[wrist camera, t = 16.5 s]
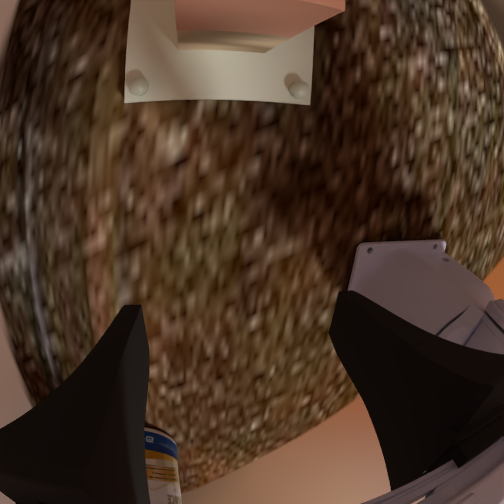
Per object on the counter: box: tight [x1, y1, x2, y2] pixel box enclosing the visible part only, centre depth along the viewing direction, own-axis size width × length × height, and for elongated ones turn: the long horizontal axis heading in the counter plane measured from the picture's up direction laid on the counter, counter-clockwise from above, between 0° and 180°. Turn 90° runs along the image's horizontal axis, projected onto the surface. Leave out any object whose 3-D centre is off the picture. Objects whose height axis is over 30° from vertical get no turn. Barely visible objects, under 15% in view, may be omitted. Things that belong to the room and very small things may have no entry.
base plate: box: [124, 0, 314, 105], centre depth 13 cm, size 10×10×2 cm
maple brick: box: [177, 30, 292, 53], centre depth 11 cm, size 4×4×4 cm
